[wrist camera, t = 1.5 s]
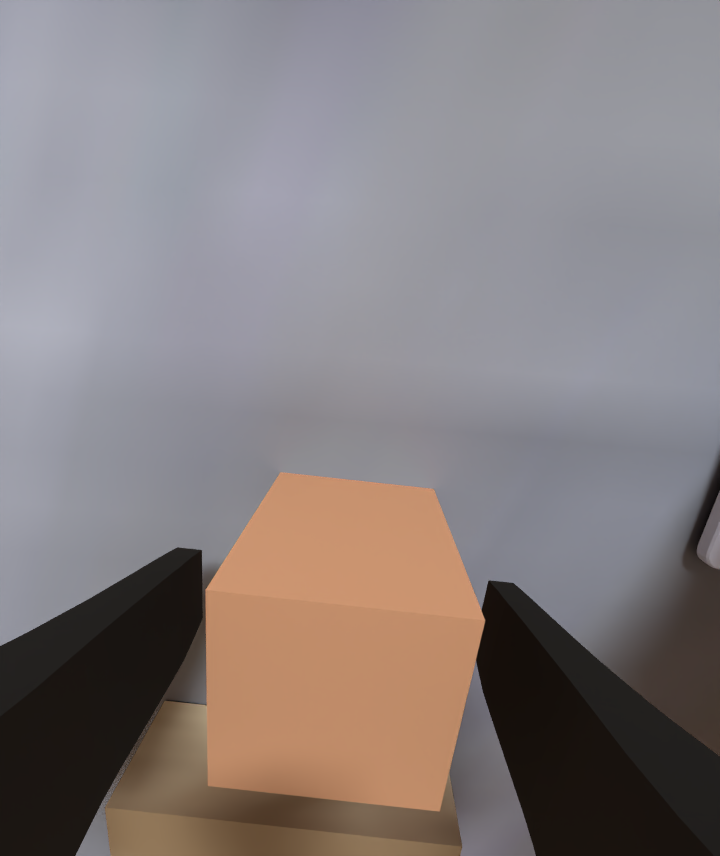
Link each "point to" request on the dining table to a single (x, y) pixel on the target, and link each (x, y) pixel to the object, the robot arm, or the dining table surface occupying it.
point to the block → (340, 646)
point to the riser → (251, 809)
